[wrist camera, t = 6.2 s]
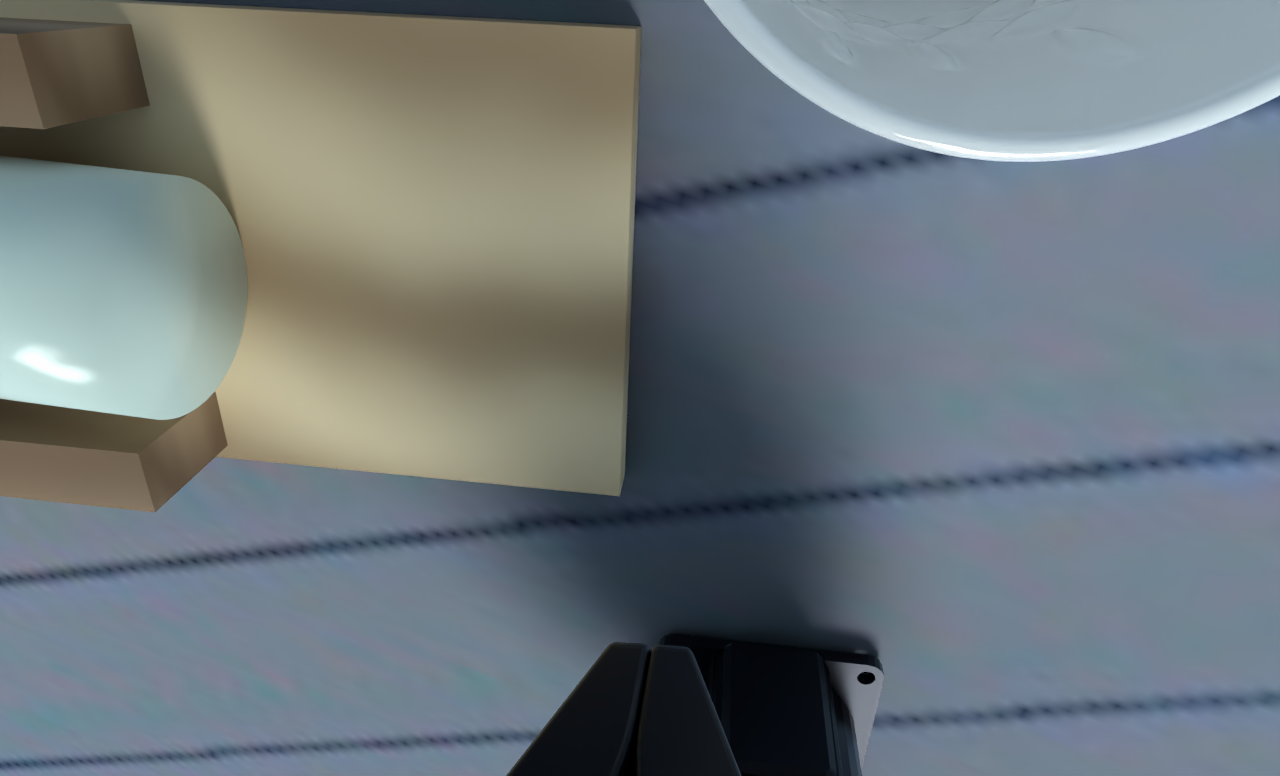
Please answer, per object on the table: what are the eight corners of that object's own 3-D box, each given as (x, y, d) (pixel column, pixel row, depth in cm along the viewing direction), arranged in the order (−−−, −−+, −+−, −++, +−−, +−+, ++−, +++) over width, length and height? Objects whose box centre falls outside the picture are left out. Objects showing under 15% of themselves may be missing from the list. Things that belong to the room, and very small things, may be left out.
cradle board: (624, 474, 22) (598, 588, 18) (-160, 399, 23) (-344, 486, 19) (641, 26, 17) (609, 42, 13) (-361, -25, 18) (-665, -25, 14)
